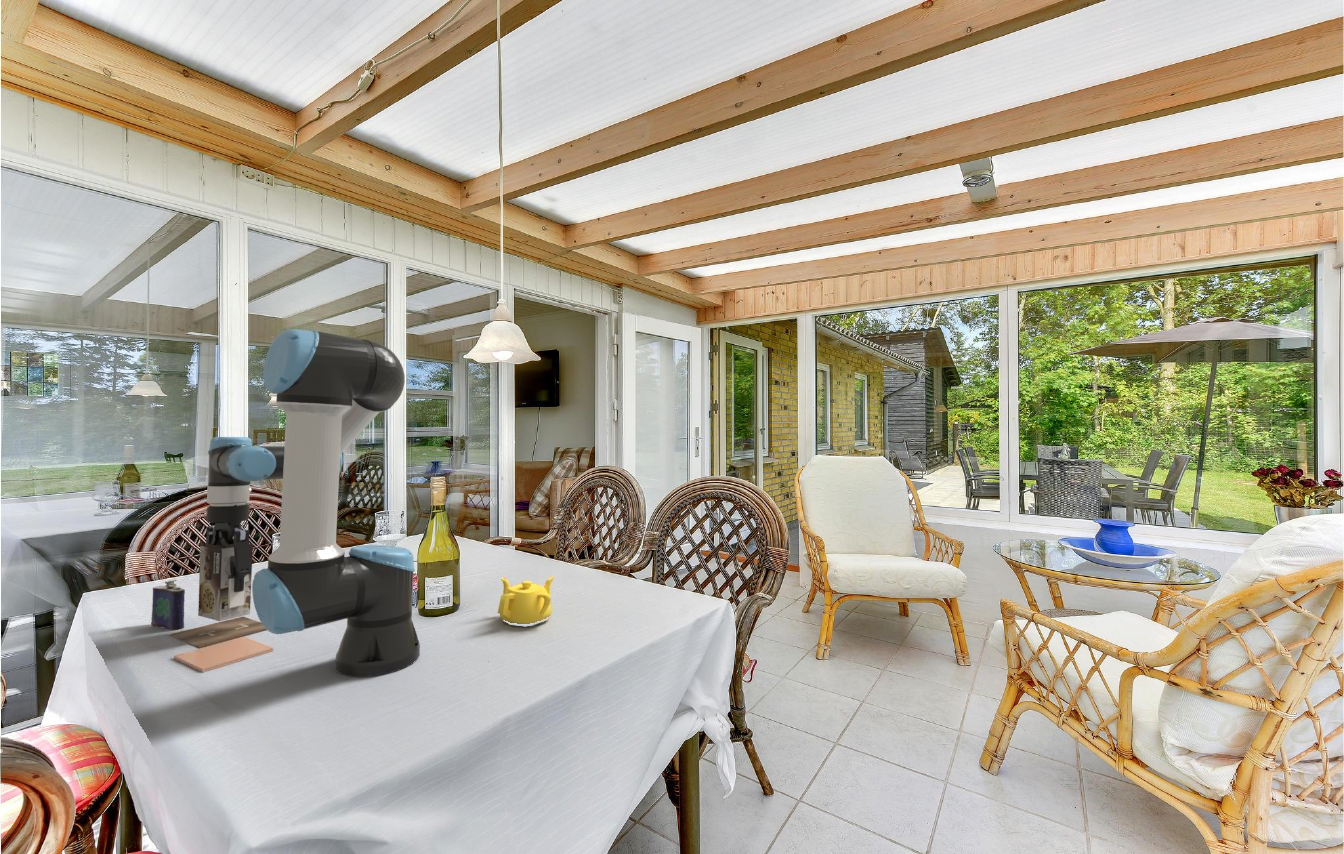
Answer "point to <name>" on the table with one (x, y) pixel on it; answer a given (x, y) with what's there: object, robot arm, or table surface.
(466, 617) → the table surface
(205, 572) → the printed cardboard box
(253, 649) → the pad
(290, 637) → the table surface
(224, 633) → the mat
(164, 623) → the flask
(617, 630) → the table surface
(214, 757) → the table surface
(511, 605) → the teapot
